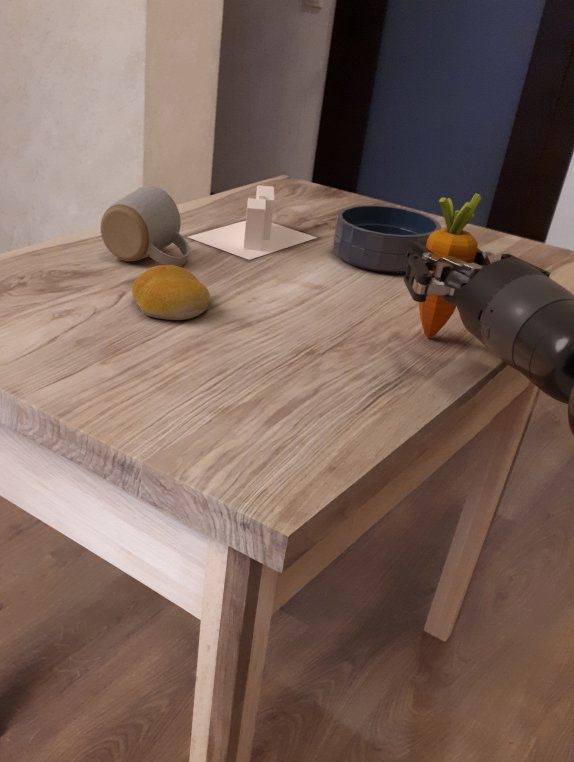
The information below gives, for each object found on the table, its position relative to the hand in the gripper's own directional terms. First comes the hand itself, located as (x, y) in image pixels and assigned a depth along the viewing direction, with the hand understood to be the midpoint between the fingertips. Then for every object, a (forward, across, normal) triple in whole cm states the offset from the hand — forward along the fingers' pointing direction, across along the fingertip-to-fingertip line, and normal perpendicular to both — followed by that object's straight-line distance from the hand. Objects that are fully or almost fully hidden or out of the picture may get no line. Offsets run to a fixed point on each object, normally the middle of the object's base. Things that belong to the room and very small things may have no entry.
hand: (436, 251), depth 82 cm
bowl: (+22, -5, +8) cm, 24 cm away
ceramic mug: (+24, +26, +9) cm, 36 cm away
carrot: (-3, 0, +9) cm, 9 cm away
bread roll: (+8, +26, +9) cm, 29 cm away
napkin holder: (+31, +10, +9) cm, 34 cm away
